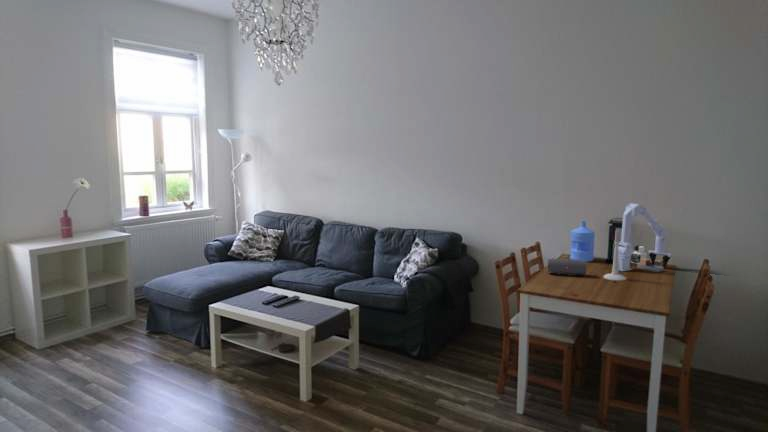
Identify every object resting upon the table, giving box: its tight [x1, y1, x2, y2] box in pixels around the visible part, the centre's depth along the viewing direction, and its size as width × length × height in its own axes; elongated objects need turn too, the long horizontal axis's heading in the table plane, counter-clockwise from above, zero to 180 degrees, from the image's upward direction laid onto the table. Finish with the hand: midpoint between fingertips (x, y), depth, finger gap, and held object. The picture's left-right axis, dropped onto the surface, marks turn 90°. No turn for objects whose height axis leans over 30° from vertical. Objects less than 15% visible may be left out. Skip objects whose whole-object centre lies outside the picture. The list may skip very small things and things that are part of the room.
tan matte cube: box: [654, 259, 663, 267], centre depth 328 cm, size 5×4×5 cm
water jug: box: [569, 220, 596, 263], centre depth 353 cm, size 16×16×28 cm
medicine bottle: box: [630, 245, 648, 265], centre depth 343 cm, size 7×7×12 cm
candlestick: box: [603, 230, 627, 282], centre depth 301 cm, size 13×13×30 cm
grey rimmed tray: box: [636, 258, 665, 273], centre depth 324 cm, size 14×7×6 cm, turn 29°
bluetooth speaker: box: [547, 258, 587, 276], centre depth 312 cm, size 23×9×10 cm, turn 71°
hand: (658, 265), depth 328 cm, fingers open, 7 cm apart
